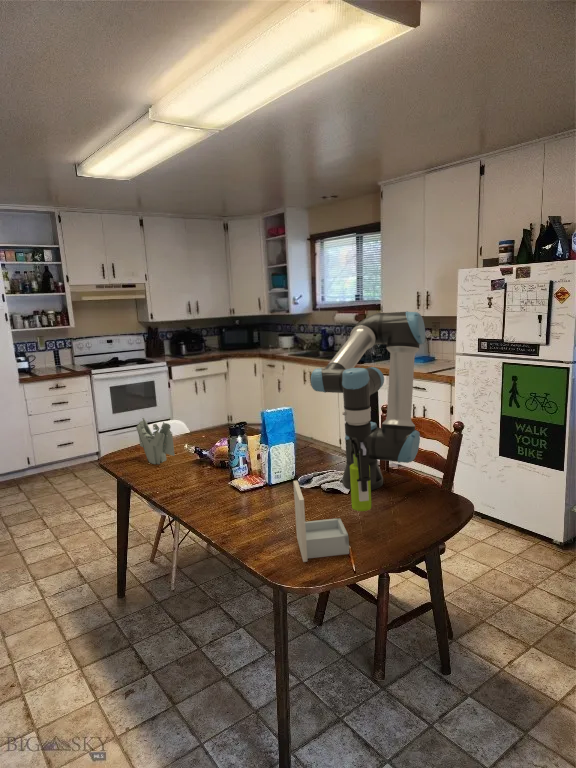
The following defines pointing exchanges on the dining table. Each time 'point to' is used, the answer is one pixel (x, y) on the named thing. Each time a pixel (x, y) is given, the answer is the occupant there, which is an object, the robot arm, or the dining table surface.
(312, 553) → the cup bracket
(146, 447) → the grey pronged sculpture
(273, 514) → the dining table surface
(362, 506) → the soap dispenser
